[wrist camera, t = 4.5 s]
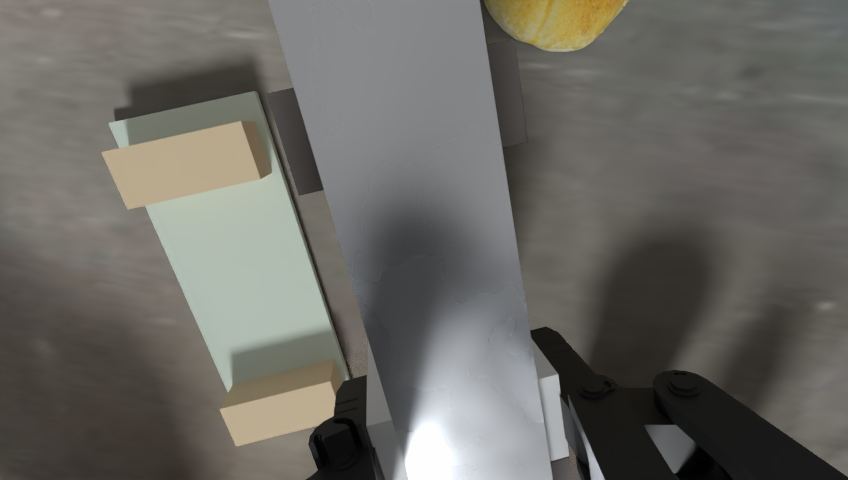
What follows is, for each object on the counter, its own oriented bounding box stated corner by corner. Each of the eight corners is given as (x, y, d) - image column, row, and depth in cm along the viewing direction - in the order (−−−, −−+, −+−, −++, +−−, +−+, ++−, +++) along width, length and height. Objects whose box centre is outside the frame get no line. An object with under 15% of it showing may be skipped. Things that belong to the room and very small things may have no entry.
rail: (463, 612, 17) (489, 752, 13) (287, -20, 10) (235, -109, 6) (541, 588, 17) (589, 719, 14) (424, -48, 10) (456, -149, 6)
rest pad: (250, 432, 29) (236, 466, 26) (115, 123, 22) (76, 123, 19) (358, 404, 29) (356, 435, 27) (257, 91, 23) (240, 87, 20)
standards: (402, 393, 30) (419, 578, 18) (314, 78, 23) (246, 36, 11) (499, 368, 30) (579, 533, 18) (441, 50, 23) (508, -20, 11)
